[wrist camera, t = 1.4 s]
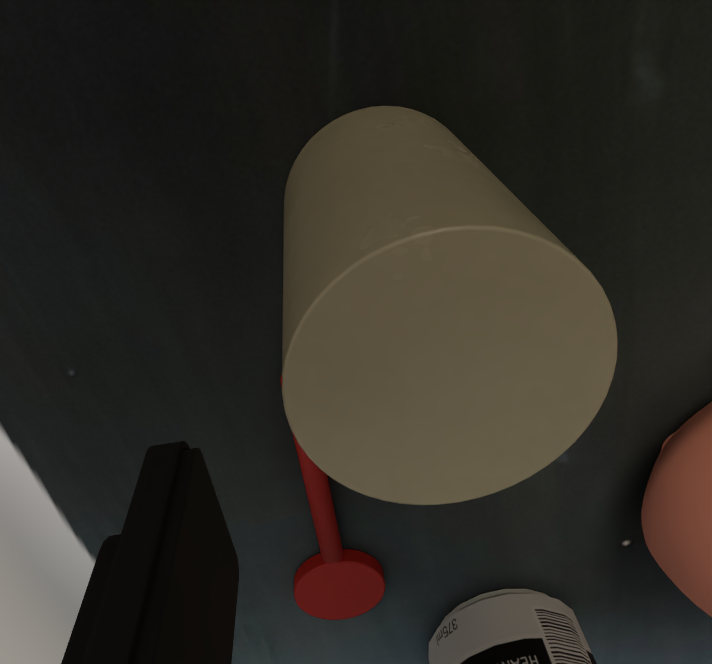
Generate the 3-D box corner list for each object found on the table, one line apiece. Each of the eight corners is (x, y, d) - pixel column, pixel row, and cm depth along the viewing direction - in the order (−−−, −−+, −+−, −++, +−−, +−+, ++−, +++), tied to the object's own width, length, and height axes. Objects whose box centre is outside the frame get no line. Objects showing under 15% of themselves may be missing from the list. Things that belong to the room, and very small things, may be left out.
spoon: (233, 371, 23) (231, 386, 22) (348, 352, 23) (351, 367, 22) (301, 612, 31) (302, 630, 30) (387, 598, 31) (390, 616, 30)
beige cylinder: (266, 122, 18) (247, 259, 10) (474, 90, 18) (638, 198, 10) (301, 305, 21) (311, 527, 13) (478, 278, 22) (602, 480, 13)
